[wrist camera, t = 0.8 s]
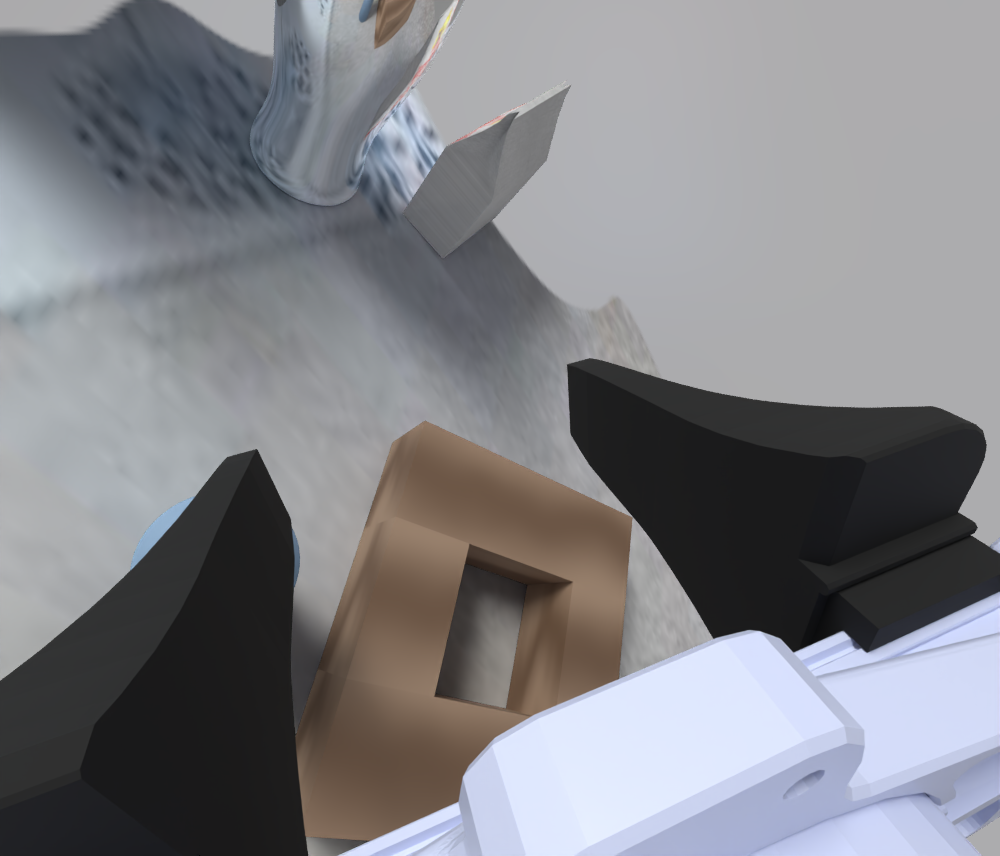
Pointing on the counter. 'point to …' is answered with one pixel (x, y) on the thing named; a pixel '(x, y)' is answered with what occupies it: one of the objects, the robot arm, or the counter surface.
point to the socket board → (426, 623)
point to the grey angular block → (484, 172)
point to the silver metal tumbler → (340, 87)
